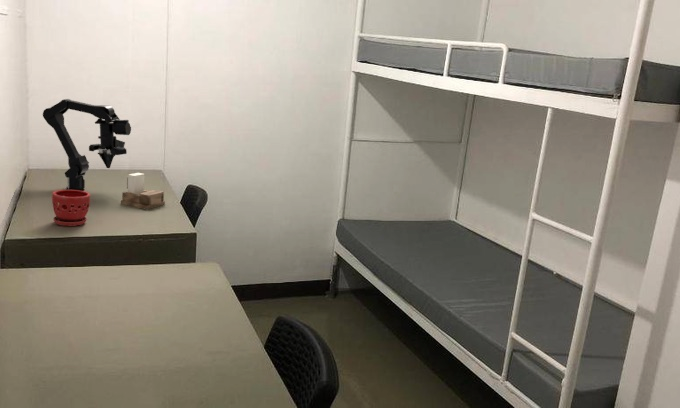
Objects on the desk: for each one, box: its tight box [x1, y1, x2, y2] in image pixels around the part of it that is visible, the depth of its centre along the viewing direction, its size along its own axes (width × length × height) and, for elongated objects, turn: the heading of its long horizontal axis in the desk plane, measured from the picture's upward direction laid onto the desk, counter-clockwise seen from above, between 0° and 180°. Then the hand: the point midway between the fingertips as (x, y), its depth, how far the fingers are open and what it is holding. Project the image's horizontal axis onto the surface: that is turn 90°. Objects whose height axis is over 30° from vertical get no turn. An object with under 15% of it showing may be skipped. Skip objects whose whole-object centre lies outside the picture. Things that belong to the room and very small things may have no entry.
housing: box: [120, 188, 166, 210], centre depth 274 cm, size 14×12×6 cm
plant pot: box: [51, 189, 91, 227], centre depth 237 cm, size 13×13×12 cm
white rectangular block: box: [126, 172, 145, 195], centre depth 274 cm, size 4×6×11 cm
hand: (108, 168), depth 284 cm, fingers closed
